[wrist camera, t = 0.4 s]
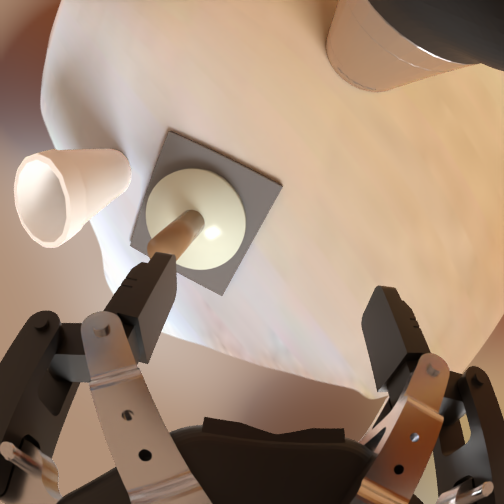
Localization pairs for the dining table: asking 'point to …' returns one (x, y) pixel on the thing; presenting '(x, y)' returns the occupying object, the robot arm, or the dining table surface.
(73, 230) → the foam cup
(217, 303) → the dining table surface
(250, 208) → the mat
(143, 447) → the robot arm
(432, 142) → the dining table surface
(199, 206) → the lid
